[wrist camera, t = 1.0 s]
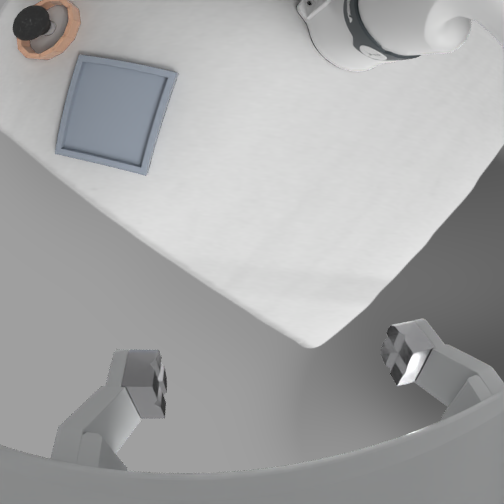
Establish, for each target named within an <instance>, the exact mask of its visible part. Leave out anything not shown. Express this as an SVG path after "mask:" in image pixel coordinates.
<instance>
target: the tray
mask: <svg viewBox="0 0 504 504" xmlns="http://www.w3.org/2000/svg"><path fill="white" fill-rule="evenodd" d="M177 77H178V73H176V72H172V71H167V70H163V69H159V68H154V67H150V66H145V65H140V64H135V63H130V62H125V61H119V60H113V59H107V58H101V57H94V56H86V55H79V57H78V60H77V63H76V66H75V69H74V73H73V76H72V79H71V83H70V86H69V90H68V94H67V98H66V102H65V106H64V110H63V114H62V119H61V123H60V128H59V133H58V138H57V144H56V149H55V154H59V155H63V156H68V157H72V158H76V159H81V160H85V161H89V162H93V163H98V164H102V165H106V166H110V167H114V168H118V169H122V170H126V171H130V172H134V173H138V174H142V175H145V176H146V174H147V173H148V170H149V166H150V163H151V159H152V155H153V152H154V148H155V145H156V141H157V138H158V134H159V131H160V128H161V125H162V121H163V118H164V115H165V112H166V109H167V106H168V103H169V100H170V97H171V94H172V91H173V88H174V85H175V82H176V80H177Z"/></svg>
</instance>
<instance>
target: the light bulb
mask: <svg viewBox="0 0 504 504" xmlns="http://www.w3.org/2000/svg"><path fill="white" fill-rule="evenodd" d="M55 28H56V25H55V23H54V22H52V21H50V20H49V14H48V12H47V10H46V9H45V8H44V7H42V6H38V5H34V6H29V7H27V8H25V9H23V10H22V11H21V12H20V13H19V14H18V15H17V17H16V18H15V20H14V24H13V32H14V35H15V36H16V37H17V38H18V39H20V40H23V41H28V40H32V39H35V38H37V37H39V36H40V35H51V34H52V33H53V32H54V31H55Z"/></svg>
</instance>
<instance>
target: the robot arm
mask: <svg viewBox="0 0 504 504" xmlns="http://www.w3.org/2000/svg"><path fill="white" fill-rule="evenodd" d="M307 2H310V3H311V5H308V4H307ZM297 11H298V13H299V14H300V16H301V17H302V18H303V19H304V21H305V22H306V23H307V26H308V29H309V33H310V36H311V39H312V41H313V43H314V45H315V47H316V48H317V50H318V51H319V52H320V53H321V54H322V56H323V57H324V58H326V59H327V60H328V61H329V62H331V63H332V64H334V65H335V66H337V67H339V68H342V69H345V70H348V71H354V72H362V71H367V70H370V69H373V68H375V67H376V66H378V65H380V64H383V63H392V62H396V61H398V60H405V59H413V58H416V57H419V56H421V55H427V54H446V53H451V52H453V51H455V50H457V49H458V48H460V47H461V46H462V45H463V44H464V42H465V41H466V40H467V38H468V36H469V34H470V31H471V20H473V21H475V22H477V23H479V24H480V25H481V26H483V27H484V28H485V29H486V30H487V31H489V32H490V34H491V35H492V36H493V37H494V38H495V39H496V40H497V41H498V42H499V44H500V45H501V46H502V47H503V48H504V0H301V1H300V2H299V4H298V5H297ZM387 335H388V338H387V339H386V340H385V341H384V342H383V344H382V347H381V356H382V359H383V361H384V363H385V365H386V366H388V367H389V368H391V373H390V374H391V376H392V378H393V380H394V382H395V383H396V385H397V386H400V385H404V384H408V383H411V382H415V383H416V384H418V385H419V386H420V387H422V388H423V389H424V390H426V391H427V392H428V393H430V394H431V395H433V396H434V397H435V398H436V399H438V400H439V401H441V402H442V403H443V404H445V405H446V406H447V407H448V408H447V409H446V411H445V412H444V413H443V415H442V421H439V422H437V423H435V424H432V425H430V426H428V427H425V428H422V429H420V430H417V431H415V432H412V433H409V434H407V435H404V436H401V437H398V438H395V439H392V440H389V441H386V442H383V443H380V444H377V445H373V446H370V447H366V448H363V449H359V450H355V451H352V452H348V453H344V454H340V455H336V456H332V457H327V458H323V459H318V460H313V461H308V462H302V463H297V464H291V465H285V466H278V467H271V468H263V469H255V470H244V471H232V472H217V473H151V472H136V471H127V467H126V466H125V465H124V464H123V462H122V461H121V460H120V459H119V458H118V457H117V455H116V453H117V452H118V450H119V449H120V448H121V446H122V445H123V444H124V442H125V441H126V440H127V438H128V437H129V436H130V434H131V433H132V432H133V430H134V429H135V427H136V426H137V425H138V423H139V422H140V421H141V418H165V408H166V401H165V399H164V396H163V395H164V394H165V393H166V392H167V377H166V372H165V368H164V366H163V365H162V364H161V359H162V357H161V354H160V351H159V350H118V349H117V350H116V351H115V352H114V354H113V358H112V362H111V366H110V369H109V373H108V377H107V382H106V386H101V387H100V388H99V389H98V390H97V391H96V392H95V393H94V394H93V395H92V396H91V397H90V398H88V399H87V400H86V401H85V402H84V403H83V404H82V405H81V406H80V407H79V408H78V409H77V410H76V411H75V412H74V413H73V414H71V416H69V417H68V418H67V419H66V420H65V421H64V422H63V423H62V424H61V425H60V426H59V427H58V430H57V434H56V438H55V442H54V446H53V451H52V455H51V459H49V458H45V457H41V456H37V455H33V454H29V453H26V452H22V451H18V450H15V449H12V448H9V447H6V446H3V445H0V504H504V383H503V381H502V380H501V379H500V377H499V376H498V374H497V373H496V372H495V370H494V369H493V368H492V367H491V366H489V365H488V364H485V363H483V362H482V361H480V360H478V359H475V358H474V357H472V356H470V355H468V354H466V353H464V352H462V351H460V350H458V349H456V348H454V347H452V346H450V345H448V344H447V345H445V344H444V343H443V341H442V340H441V339H440V337H439V336H438V335H437V333H436V332H435V331H434V330H433V328H432V327H431V326H430V324H429V323H428V322H427V321H426V320H425V319H418V320H414V321H409V322H404V323H399V324H395V325H391V326H390V327H389V328H388V330H387Z"/></svg>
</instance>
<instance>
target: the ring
mask: <svg viewBox="0 0 504 504" xmlns="http://www.w3.org/2000/svg"><path fill="white" fill-rule="evenodd" d="M35 5H38V6H42V7H44V8H45V9H46V10H47V9H49V8H51V7H53V6H55V5H64V6H65V7H66V8H67V10H68V19H69V21H68V24H67V26H66V29H65V32H64V34H63V36H62V37H61V38H60V39H59V40H58V41H57V43H56V44H55V45H54V46H53V47H52V48H50V49H48V50H46V51H44V52H42V53H40V54H37V53H36V52H35V51H34V50H33V49H32V48H31V46H30V40H28V41H23V40H20V39H18V38H17V44H18V50H19V51H20V52H21V53H22V54H23V55H24V56H25V57H26V58H32V59H44V60H49V59H51V58H53V57H55V56H57V55H59V54H61V53H63V52H64V51H65V49H66V48H67V47H68V46H69V45H70V44H71V43H72V42H73V40H74V39H75V37H76V34H77V32H78V29H79V26H80V24H81V22H80V14H79V9H78V8H77V7H76V6H75V5H74V4H73V3H71V2H70V1H69V0H42V1H40V2H39V3H37V4H35Z"/></svg>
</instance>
